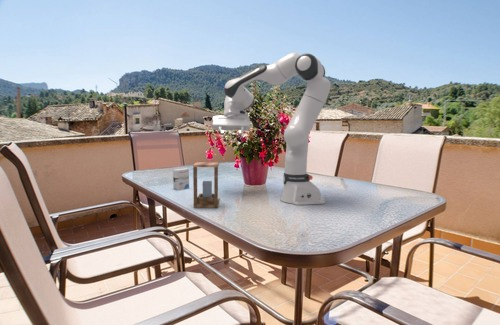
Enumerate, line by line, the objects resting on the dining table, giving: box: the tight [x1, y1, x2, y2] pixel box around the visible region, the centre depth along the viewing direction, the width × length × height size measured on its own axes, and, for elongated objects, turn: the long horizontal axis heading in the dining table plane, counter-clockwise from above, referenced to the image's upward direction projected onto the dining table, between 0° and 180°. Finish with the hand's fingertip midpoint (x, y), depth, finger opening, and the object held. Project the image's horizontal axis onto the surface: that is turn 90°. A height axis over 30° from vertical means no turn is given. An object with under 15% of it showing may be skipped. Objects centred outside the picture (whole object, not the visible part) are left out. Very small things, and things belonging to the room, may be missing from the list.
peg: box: [202, 180, 213, 197], centre depth 144 cm, size 4×4×10 cm
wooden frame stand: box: [192, 161, 221, 209], centre depth 143 cm, size 11×14×20 cm
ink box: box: [172, 167, 190, 191], centre depth 177 cm, size 8×5×12 cm, turn 144°
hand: (231, 134), depth 155 cm, fingers open, 8 cm apart
